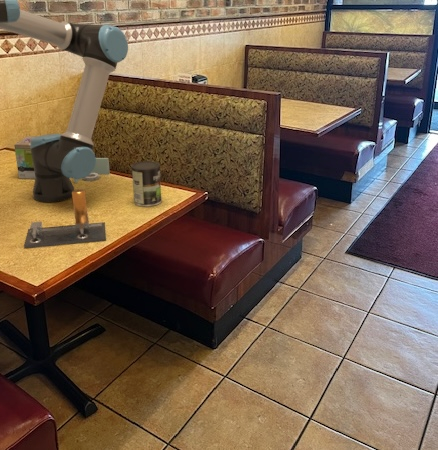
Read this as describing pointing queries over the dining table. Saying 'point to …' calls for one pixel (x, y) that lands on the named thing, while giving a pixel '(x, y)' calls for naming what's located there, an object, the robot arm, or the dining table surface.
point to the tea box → (24, 158)
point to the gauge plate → (63, 235)
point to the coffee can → (146, 183)
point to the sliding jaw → (80, 210)
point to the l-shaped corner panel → (97, 170)
